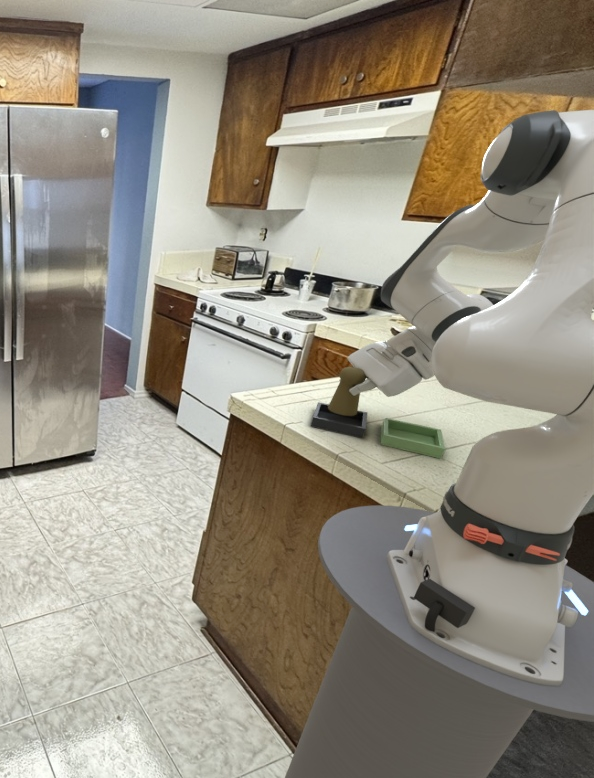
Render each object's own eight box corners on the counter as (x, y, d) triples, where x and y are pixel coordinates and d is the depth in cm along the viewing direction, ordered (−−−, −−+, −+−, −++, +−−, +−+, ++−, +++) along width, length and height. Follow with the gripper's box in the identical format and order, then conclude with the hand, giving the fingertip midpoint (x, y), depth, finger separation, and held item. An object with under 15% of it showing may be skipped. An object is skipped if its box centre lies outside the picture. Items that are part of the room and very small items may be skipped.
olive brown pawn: (351, 406, 117) (364, 365, 112) (361, 417, 112) (375, 374, 107) (324, 403, 118) (336, 363, 114) (332, 414, 113) (345, 372, 109)
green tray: (440, 458, 101) (445, 448, 100) (380, 444, 107) (383, 434, 106) (437, 438, 109) (441, 429, 108) (381, 426, 115) (384, 417, 114)
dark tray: (362, 438, 110) (365, 429, 109) (310, 426, 116) (313, 417, 115) (364, 421, 117) (367, 412, 116) (315, 410, 123) (318, 402, 122)
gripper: (378, 329, 115) (323, 363, 121) (421, 357, 97) (354, 395, 103) (393, 348, 116) (338, 381, 122) (439, 378, 98) (371, 415, 104)
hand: (346, 388), depth 113 cm, fingers closed on olive brown pawn, 4 cm apart
